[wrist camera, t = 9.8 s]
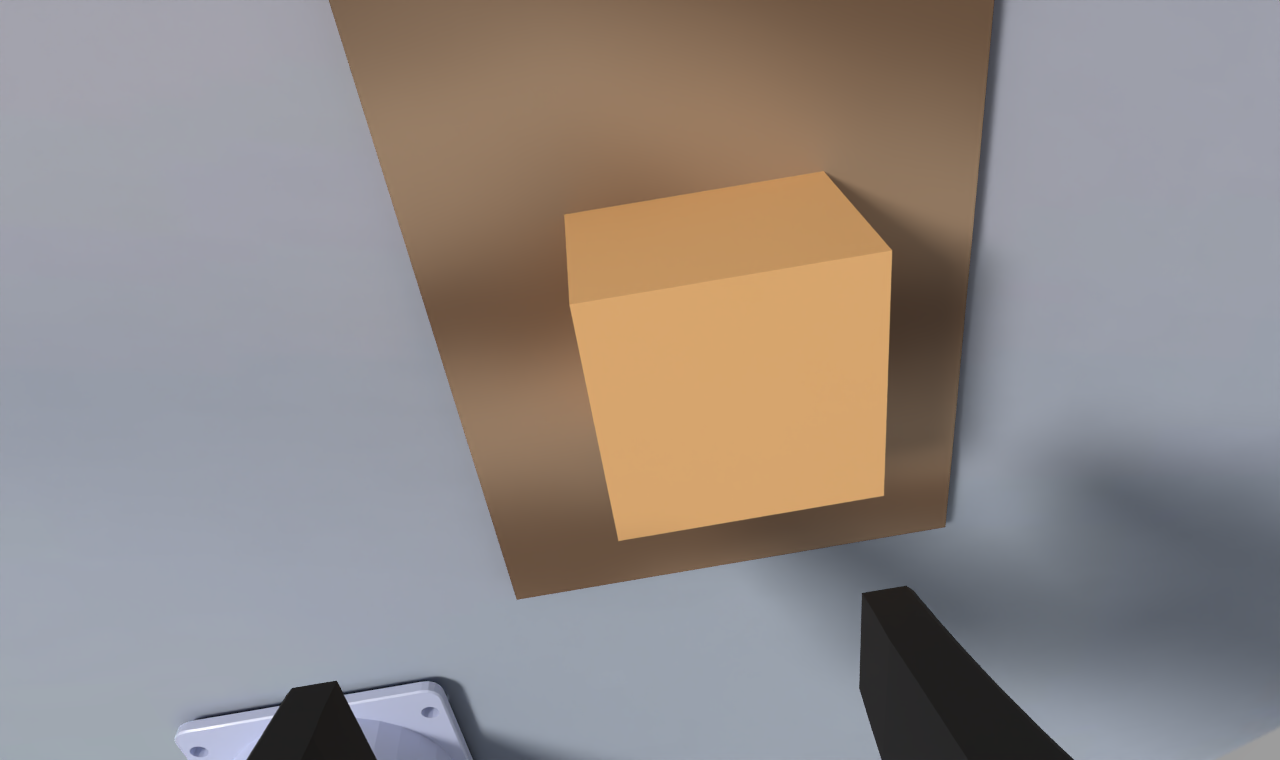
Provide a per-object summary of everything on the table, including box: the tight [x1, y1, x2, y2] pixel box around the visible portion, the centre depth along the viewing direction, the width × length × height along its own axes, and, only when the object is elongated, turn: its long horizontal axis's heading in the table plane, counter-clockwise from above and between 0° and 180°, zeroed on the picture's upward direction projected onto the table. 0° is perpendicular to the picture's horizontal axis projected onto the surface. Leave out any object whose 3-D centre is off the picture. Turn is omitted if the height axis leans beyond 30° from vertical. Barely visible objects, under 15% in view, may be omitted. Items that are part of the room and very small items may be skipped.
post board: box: [329, 0, 994, 600], centre depth 18 cm, size 16×12×3 cm
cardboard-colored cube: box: [564, 171, 892, 541], centre depth 17 cm, size 5×5×4 cm
